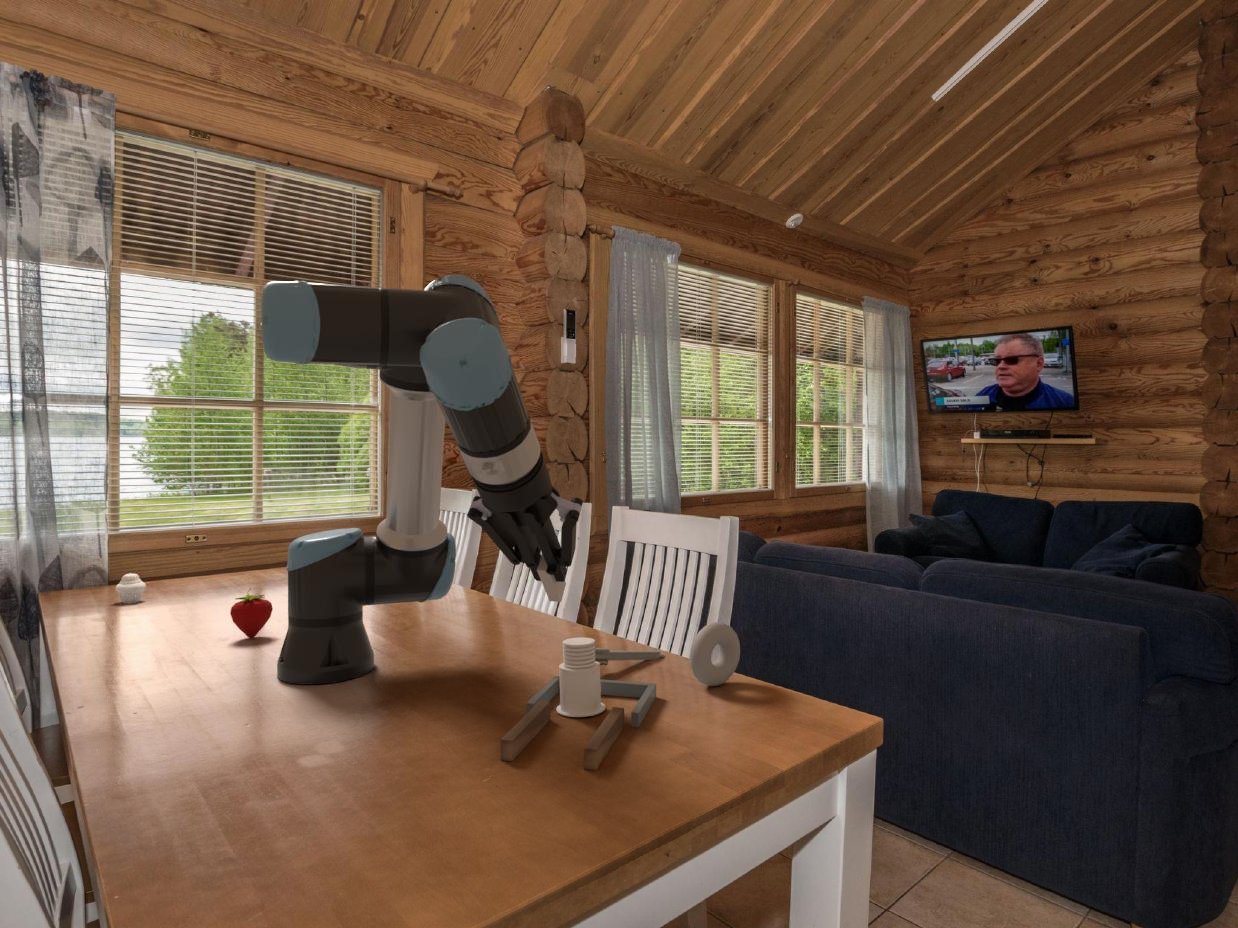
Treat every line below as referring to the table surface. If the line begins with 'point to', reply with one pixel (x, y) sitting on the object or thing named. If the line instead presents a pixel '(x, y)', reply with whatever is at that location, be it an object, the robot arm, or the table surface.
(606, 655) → the caliper
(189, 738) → the table surface
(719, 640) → the donut
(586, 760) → the slot
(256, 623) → the strawberry
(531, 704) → the open frame
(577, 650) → the downlight
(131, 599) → the muffin
